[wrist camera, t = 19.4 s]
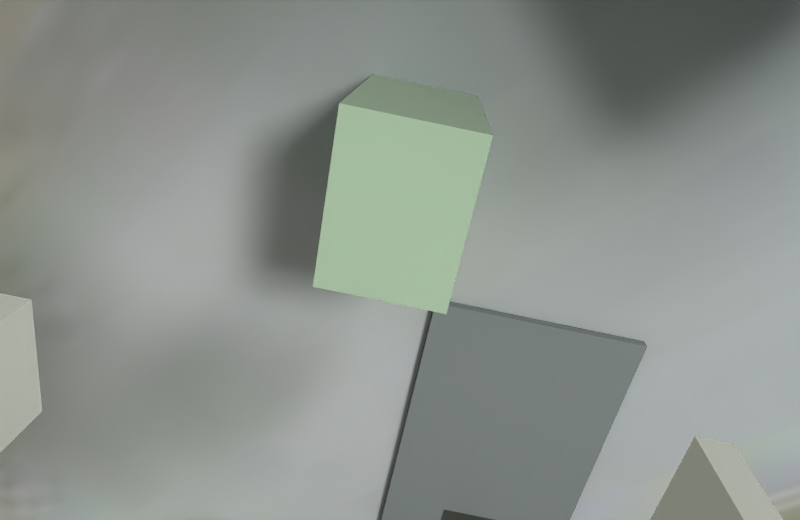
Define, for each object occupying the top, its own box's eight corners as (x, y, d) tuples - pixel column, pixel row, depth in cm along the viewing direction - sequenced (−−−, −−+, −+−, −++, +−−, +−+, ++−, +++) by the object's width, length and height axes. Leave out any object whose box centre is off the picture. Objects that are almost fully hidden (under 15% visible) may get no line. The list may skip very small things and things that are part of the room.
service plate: (435, 298, 37) (435, 303, 36) (644, 341, 37) (647, 346, 36) (373, 548, 46) (372, 555, 46) (538, 581, 47) (539, 588, 46)
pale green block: (372, 74, 31) (338, 102, 21) (477, 96, 31) (493, 135, 21) (350, 207, 35) (312, 286, 25) (445, 227, 35) (446, 314, 25)
